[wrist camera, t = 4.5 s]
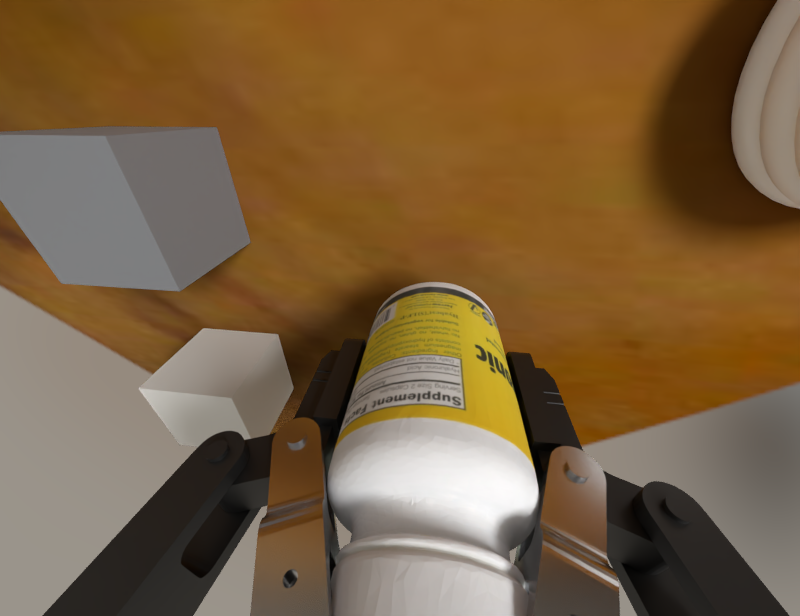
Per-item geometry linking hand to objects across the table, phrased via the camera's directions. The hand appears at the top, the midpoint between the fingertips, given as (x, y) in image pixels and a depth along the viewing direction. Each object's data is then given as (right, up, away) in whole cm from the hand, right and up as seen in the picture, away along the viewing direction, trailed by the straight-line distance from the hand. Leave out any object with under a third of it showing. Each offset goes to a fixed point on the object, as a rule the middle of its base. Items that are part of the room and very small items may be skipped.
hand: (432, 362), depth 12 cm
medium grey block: (-11, +8, +2) cm, 14 cm away
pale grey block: (-11, -1, +9) cm, 14 cm away
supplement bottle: (0, +1, +2) cm, 2 cm away
